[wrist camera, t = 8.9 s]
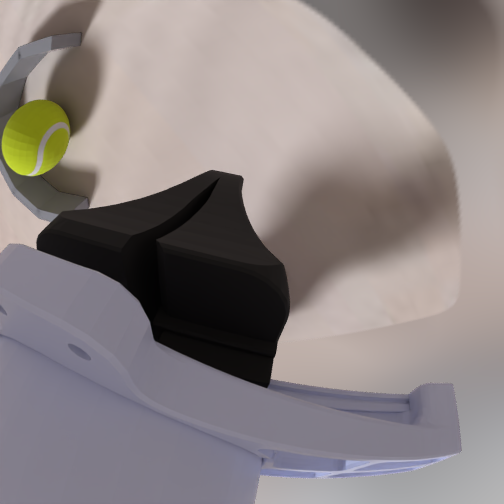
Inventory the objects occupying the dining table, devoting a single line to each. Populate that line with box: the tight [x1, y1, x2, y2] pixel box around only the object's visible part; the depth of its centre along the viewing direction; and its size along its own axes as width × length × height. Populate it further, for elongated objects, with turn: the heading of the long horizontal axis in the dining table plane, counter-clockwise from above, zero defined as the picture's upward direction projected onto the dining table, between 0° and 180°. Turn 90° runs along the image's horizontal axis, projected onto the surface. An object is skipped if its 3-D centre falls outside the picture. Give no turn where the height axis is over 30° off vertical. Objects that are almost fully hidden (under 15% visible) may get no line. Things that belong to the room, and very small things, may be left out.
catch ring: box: [0, 33, 89, 222], centre depth 18 cm, size 17×11×4 cm, turn 171°
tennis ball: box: [2, 100, 70, 176], centre depth 17 cm, size 7×7×7 cm
